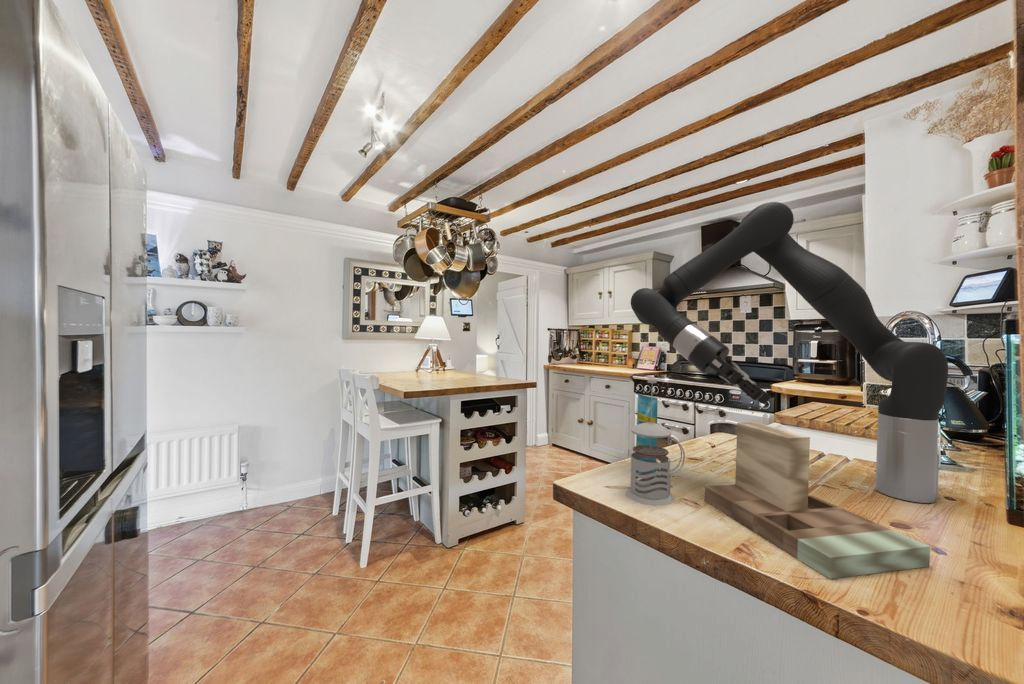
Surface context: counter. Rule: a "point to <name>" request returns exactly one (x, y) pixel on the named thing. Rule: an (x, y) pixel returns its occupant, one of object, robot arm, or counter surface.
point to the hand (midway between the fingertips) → (764, 399)
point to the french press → (651, 465)
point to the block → (773, 465)
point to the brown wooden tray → (822, 534)
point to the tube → (646, 421)
